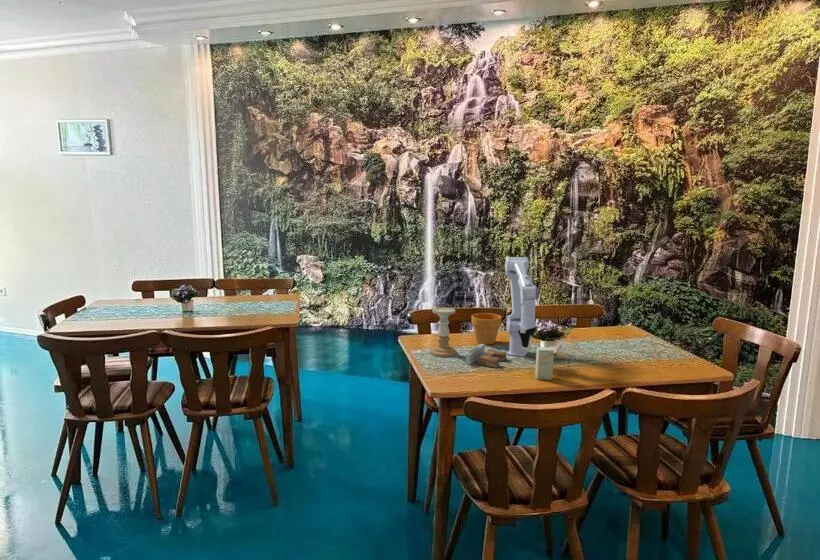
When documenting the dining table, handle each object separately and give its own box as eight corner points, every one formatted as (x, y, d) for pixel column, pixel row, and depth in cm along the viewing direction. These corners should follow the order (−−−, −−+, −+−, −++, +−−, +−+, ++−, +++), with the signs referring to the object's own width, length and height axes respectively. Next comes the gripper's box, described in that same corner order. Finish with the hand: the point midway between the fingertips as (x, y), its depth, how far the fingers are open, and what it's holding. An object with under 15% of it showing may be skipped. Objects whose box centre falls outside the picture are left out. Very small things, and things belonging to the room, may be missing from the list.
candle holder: (435, 358, 261) (435, 313, 257) (425, 350, 272) (426, 307, 269) (461, 355, 265) (462, 311, 261) (450, 348, 276) (451, 306, 273)
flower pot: (474, 337, 295) (474, 311, 293) (502, 339, 291) (503, 314, 289) (468, 344, 282) (468, 318, 280) (497, 347, 278) (498, 320, 275)
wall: (480, 353, 268) (480, 343, 268) (484, 353, 267) (484, 344, 267) (465, 364, 252) (465, 354, 252) (469, 365, 252) (470, 354, 251)
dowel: (523, 348, 254) (523, 334, 253) (532, 349, 252) (533, 335, 251) (520, 350, 250) (521, 336, 249) (529, 351, 249) (530, 337, 248)
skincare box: (537, 379, 234) (538, 350, 232) (534, 376, 238) (535, 346, 236) (553, 379, 234) (554, 350, 232) (550, 376, 238) (551, 346, 236)
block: (488, 356, 264) (489, 349, 263) (506, 358, 260) (506, 352, 260) (477, 364, 252) (478, 357, 251) (495, 367, 248) (496, 360, 248)
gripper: (523, 310, 257) (522, 340, 259) (513, 317, 244) (512, 348, 246) (539, 311, 254) (538, 342, 256) (530, 319, 241) (528, 351, 243)
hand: (526, 345), depth 251 cm, fingers closed on dowel, 4 cm apart
